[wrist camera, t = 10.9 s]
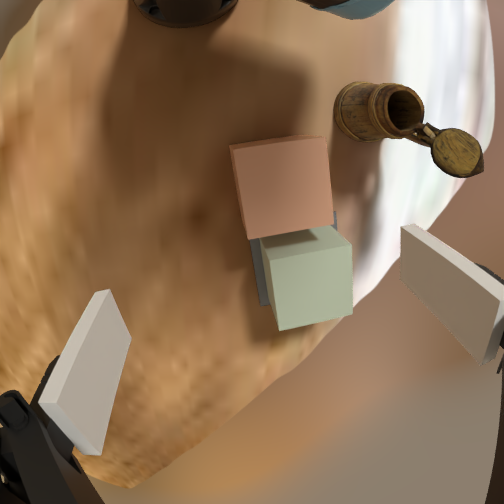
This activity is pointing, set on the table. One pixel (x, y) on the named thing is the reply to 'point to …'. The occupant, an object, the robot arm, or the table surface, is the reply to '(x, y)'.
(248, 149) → the terracotta cover
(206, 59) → the table surface
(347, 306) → the sage cover
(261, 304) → the slate tile
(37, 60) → the table surface
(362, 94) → the wooden mug
